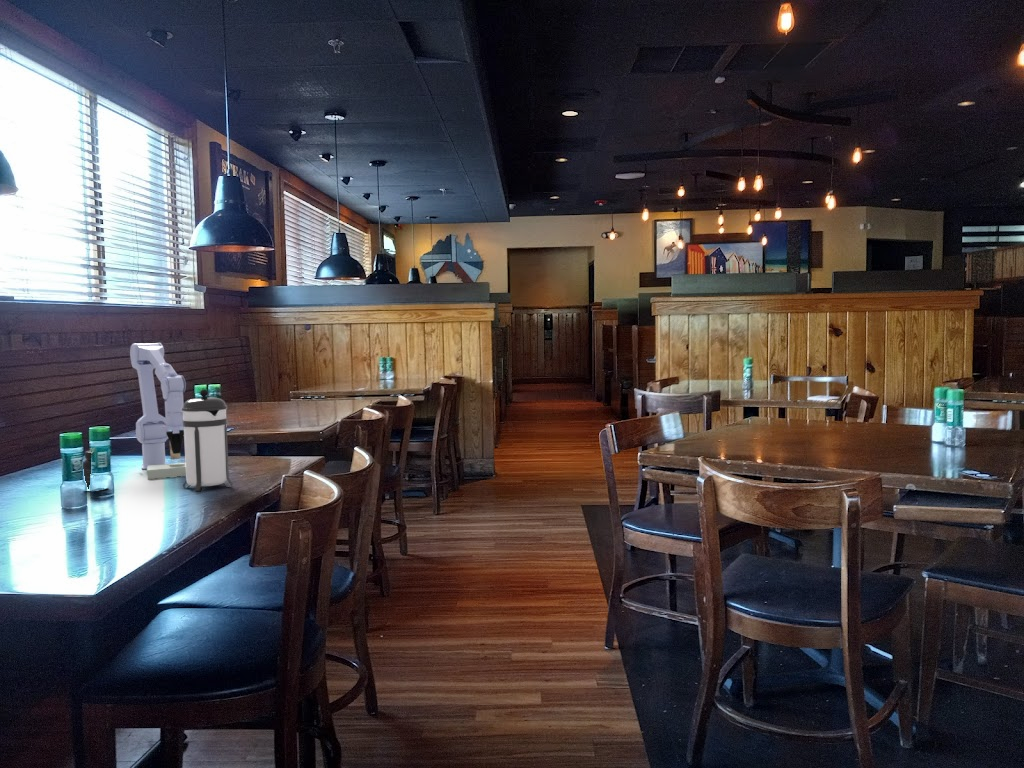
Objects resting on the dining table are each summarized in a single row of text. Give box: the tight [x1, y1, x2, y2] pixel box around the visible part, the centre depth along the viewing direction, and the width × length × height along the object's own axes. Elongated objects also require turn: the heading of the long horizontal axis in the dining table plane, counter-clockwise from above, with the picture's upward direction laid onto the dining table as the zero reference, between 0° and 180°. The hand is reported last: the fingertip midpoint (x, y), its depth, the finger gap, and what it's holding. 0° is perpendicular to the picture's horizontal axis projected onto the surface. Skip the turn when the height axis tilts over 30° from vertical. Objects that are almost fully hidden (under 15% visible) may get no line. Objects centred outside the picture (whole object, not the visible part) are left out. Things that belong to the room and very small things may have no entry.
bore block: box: [146, 462, 186, 480], centre depth 253 cm, size 10×18×3 cm, turn 115°
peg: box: [169, 440, 181, 460], centre depth 252 cm, size 3×3×6 cm
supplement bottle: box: [82, 449, 92, 489], centre depth 229 cm, size 7×7×12 cm
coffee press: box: [182, 389, 234, 493], centre depth 229 cm, size 17×16×30 cm
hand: (176, 452), depth 253 cm, fingers closed on peg, 3 cm apart
